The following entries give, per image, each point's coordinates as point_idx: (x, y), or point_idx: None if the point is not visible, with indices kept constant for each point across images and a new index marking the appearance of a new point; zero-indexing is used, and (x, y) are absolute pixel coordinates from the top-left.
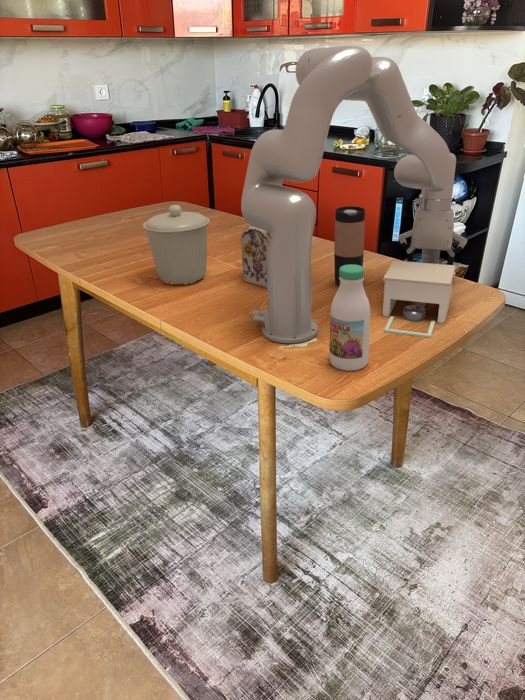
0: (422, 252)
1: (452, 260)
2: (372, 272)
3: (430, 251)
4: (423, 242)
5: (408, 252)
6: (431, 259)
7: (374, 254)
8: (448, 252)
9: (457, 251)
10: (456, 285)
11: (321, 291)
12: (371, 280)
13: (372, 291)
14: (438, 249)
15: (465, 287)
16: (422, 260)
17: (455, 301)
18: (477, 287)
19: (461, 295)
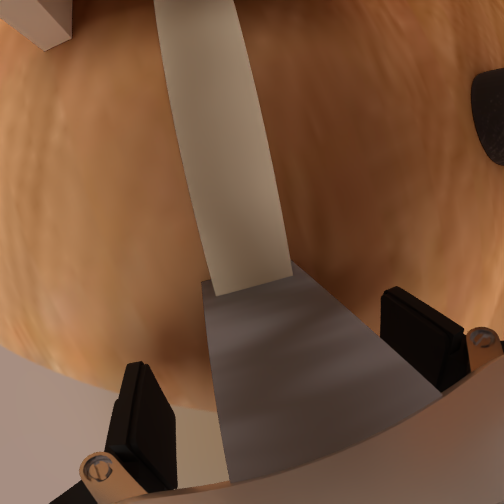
0: (407, 369)
1: (110, 435)
2: (472, 268)
3: (329, 424)
4: (492, 447)
5: (478, 334)
6: (274, 366)
7: None
8: (132, 485)
9: (71, 499)
10: (92, 316)
11: (499, 43)
12: (464, 179)
13: (422, 53)
14: (225, 486)
15: (48, 309)
16: (352, 327)
17: (24, 92)
18: (18, 332)
19: (18, 187)
